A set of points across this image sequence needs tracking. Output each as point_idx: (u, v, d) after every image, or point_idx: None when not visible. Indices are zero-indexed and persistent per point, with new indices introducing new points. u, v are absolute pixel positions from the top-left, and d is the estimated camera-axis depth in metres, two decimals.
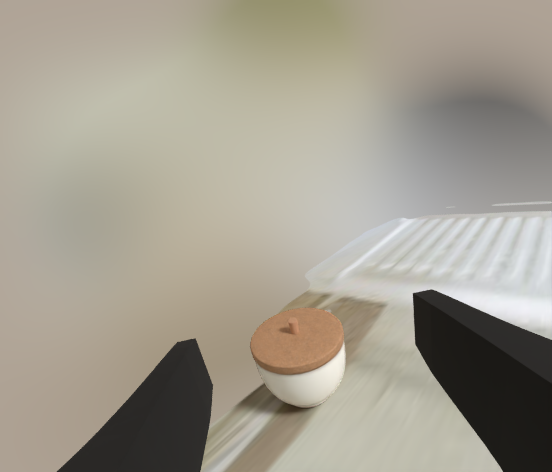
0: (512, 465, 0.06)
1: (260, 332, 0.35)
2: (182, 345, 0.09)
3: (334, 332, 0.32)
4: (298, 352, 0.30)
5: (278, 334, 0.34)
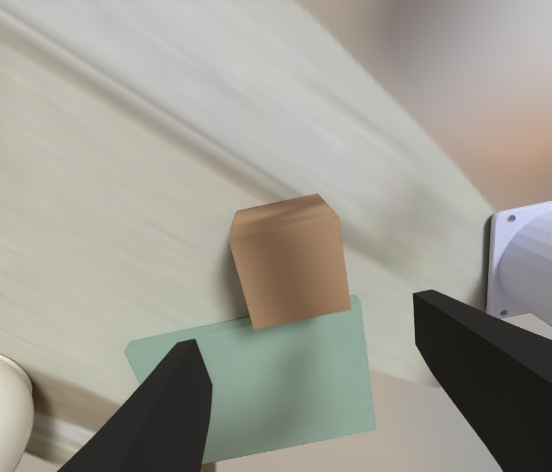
0: (512, 465, 0.06)
1: None
2: (182, 345, 0.09)
3: None
4: None
5: None
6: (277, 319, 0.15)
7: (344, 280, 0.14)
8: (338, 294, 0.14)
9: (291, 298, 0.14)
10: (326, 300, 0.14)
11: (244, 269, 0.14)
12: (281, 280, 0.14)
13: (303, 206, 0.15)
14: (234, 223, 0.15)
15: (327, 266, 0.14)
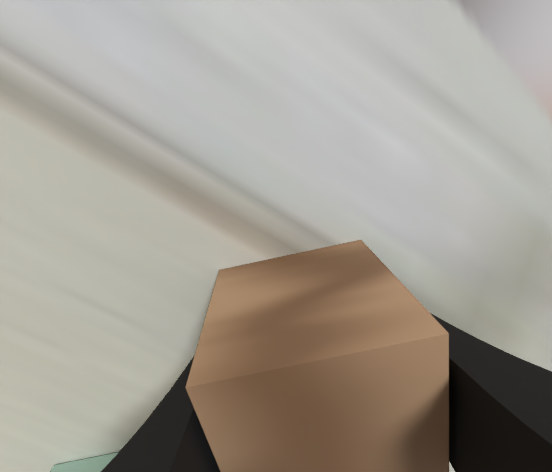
0: None
1: None
2: None
3: None
4: None
5: None
6: None
7: (443, 452, 0.07)
8: None
9: None
10: None
11: (226, 441, 0.06)
12: (308, 458, 0.06)
13: (345, 278, 0.08)
14: (209, 313, 0.08)
15: (410, 429, 0.06)
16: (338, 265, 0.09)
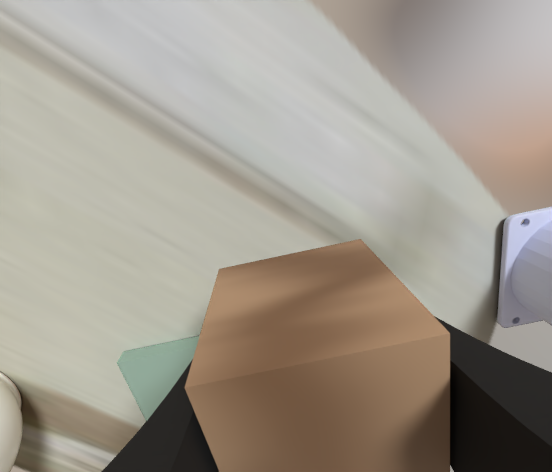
0: None
1: None
2: None
3: None
4: None
5: None
6: None
7: (444, 453, 0.06)
8: None
9: None
10: None
11: (225, 441, 0.06)
12: (308, 459, 0.06)
13: (346, 278, 0.08)
14: (209, 313, 0.08)
15: (411, 431, 0.06)
16: (338, 265, 0.09)
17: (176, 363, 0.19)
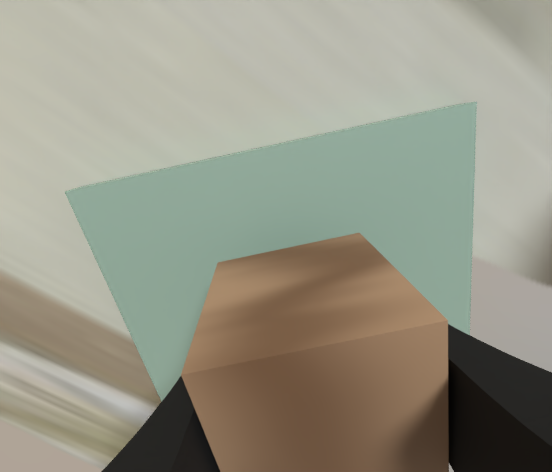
0: None
1: None
2: None
3: None
4: None
5: None
6: None
7: (442, 444, 0.06)
8: (426, 468, 0.07)
9: None
10: None
11: (222, 431, 0.06)
12: (305, 449, 0.06)
13: (344, 269, 0.08)
14: (206, 304, 0.08)
15: (409, 420, 0.06)
16: (337, 257, 0.09)
17: (162, 197, 0.11)
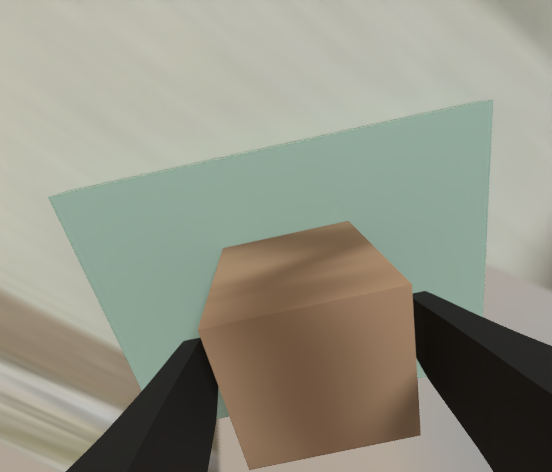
0: (503, 467, 0.06)
1: None
2: (189, 344, 0.09)
3: None
4: None
5: None
6: (290, 453, 0.08)
7: (413, 391, 0.08)
8: (400, 413, 0.08)
9: (316, 421, 0.08)
10: (378, 423, 0.08)
11: (230, 378, 0.07)
12: (299, 395, 0.08)
13: (333, 250, 0.09)
14: (215, 280, 0.09)
15: (384, 370, 0.07)
16: (327, 241, 0.10)
17: (154, 202, 0.11)
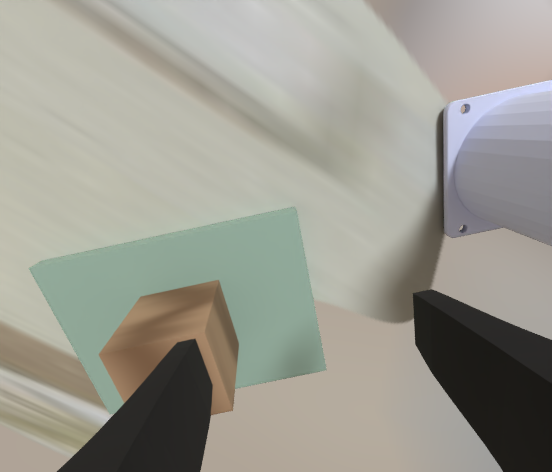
0: (512, 465, 0.06)
1: None
2: (182, 345, 0.09)
3: None
4: None
5: None
6: None
7: (221, 386, 0.14)
8: (217, 398, 0.15)
9: None
10: None
11: (119, 379, 0.14)
12: None
13: (192, 304, 0.16)
14: (122, 323, 0.16)
15: None
16: (195, 296, 0.17)
17: (94, 270, 0.17)
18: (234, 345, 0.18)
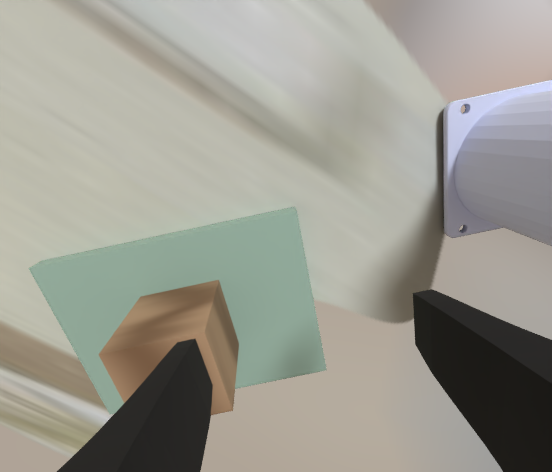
0: (512, 465, 0.06)
1: None
2: (182, 345, 0.09)
3: None
4: None
5: None
6: None
7: (221, 386, 0.14)
8: (217, 398, 0.15)
9: None
10: None
11: (119, 379, 0.14)
12: None
13: (192, 304, 0.16)
14: (122, 323, 0.16)
15: None
16: (195, 296, 0.17)
17: (94, 270, 0.17)
18: (234, 345, 0.18)
